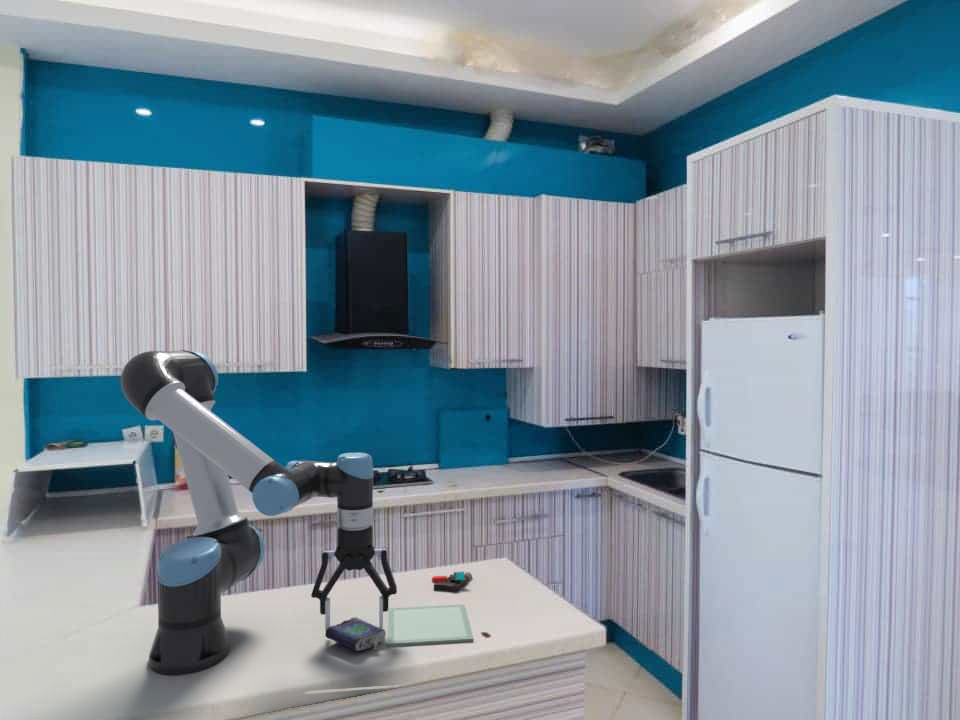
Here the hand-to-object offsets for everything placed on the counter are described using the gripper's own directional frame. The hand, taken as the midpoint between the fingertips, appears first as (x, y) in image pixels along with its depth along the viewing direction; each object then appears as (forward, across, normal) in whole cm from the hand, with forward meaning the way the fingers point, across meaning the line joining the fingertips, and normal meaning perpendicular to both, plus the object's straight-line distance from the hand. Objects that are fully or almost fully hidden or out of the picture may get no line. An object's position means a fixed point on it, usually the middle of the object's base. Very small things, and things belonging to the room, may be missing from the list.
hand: (354, 627), depth 136 cm
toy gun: (+3, +23, +28) cm, 36 cm away
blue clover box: (+3, -3, -1) cm, 4 cm away
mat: (+2, +16, +4) cm, 17 cm away
